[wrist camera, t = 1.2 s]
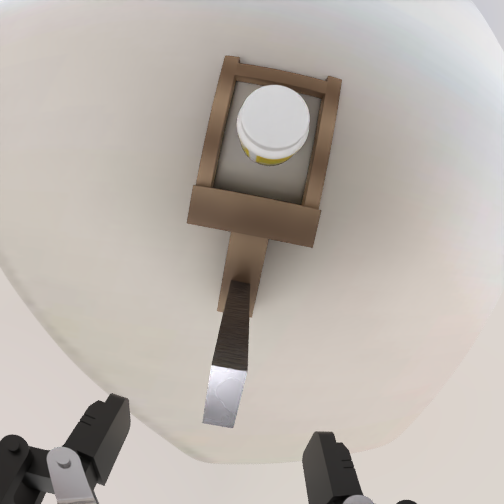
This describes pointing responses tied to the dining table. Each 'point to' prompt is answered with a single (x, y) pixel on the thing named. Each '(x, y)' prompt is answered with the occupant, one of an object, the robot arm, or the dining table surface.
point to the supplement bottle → (273, 124)
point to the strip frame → (253, 224)
